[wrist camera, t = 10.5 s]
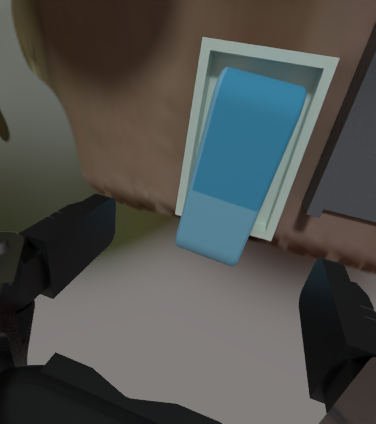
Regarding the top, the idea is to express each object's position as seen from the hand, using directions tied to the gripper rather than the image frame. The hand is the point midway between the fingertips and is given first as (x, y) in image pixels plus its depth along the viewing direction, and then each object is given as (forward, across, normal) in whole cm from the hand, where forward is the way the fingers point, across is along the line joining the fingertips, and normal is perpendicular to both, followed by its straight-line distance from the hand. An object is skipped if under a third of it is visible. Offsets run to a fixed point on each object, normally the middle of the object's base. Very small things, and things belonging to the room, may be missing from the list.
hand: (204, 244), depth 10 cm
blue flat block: (+18, 0, 0) cm, 18 cm away
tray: (+18, 0, 0) cm, 18 cm away
